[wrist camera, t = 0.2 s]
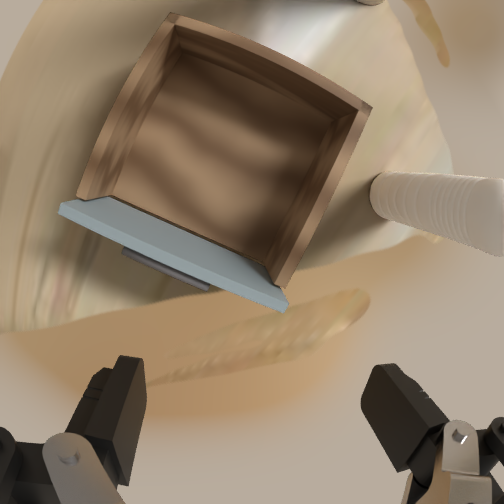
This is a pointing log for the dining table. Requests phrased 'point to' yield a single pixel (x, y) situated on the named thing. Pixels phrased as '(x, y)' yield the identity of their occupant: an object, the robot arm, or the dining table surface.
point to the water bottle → (444, 206)
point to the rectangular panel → (175, 250)
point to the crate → (227, 142)
